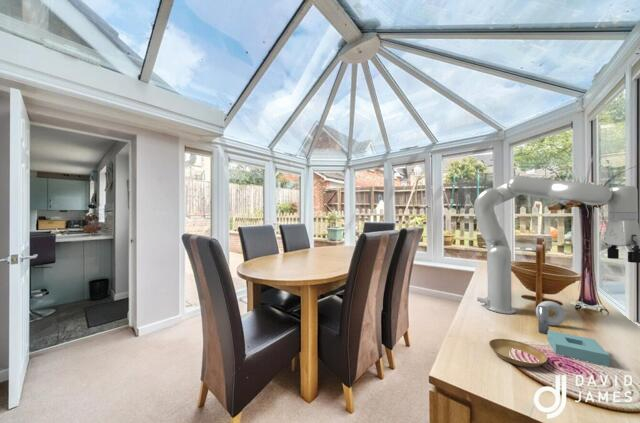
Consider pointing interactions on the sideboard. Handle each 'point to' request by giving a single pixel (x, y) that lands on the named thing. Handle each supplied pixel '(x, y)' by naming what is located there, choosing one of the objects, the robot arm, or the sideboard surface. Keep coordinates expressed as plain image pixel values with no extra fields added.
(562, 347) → the slot block
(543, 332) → the steel pin
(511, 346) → the plant saucer
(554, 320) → the donut
